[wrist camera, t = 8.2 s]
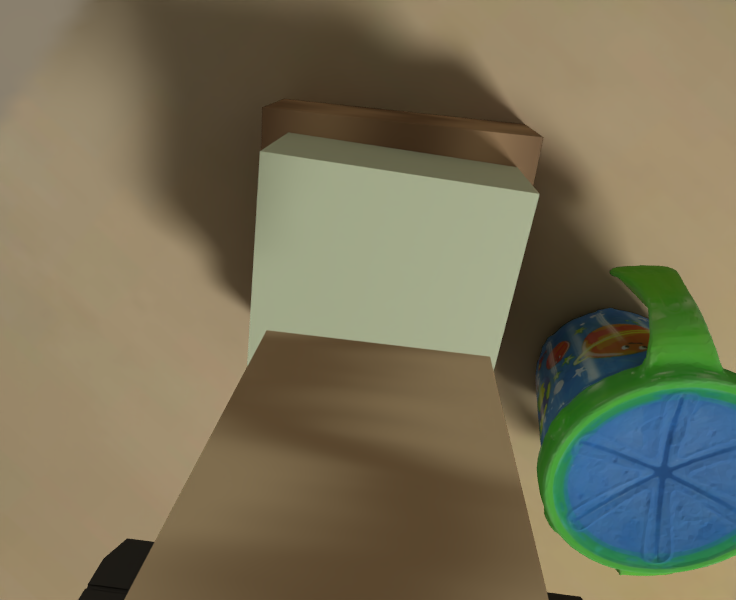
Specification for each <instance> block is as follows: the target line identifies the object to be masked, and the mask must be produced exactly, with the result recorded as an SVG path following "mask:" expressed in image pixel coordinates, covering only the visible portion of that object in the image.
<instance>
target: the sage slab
mask: <svg viewBox="0 0 736 600" xmlns="http://www.w3.org/2000/svg"><path fill="white" fill-rule="evenodd" d="M538 198H539V193H538V191H537V190H536V189H535V188H534V187H533V185H532V184H531V183H530V182H529V181H528V179H527V178H526V177H525V176H524V175H523V173H522V172H521V171H520V170H519V169H518V167H513V166H506V165H500V164H493V163H486V162H480V161H473V160H467V159H460V158H453V157H447V156H440V155H434V154H427V153H421V152H414V151H407V150H401V149H394V148H388V147H381V146H375V145H368V144H361V143H355V142H348V141H342V140H335V139H329V138H322V137H315V136H309V135H302V134H296V133H289V132H288V133H287V134H285V135H284V136H282V137H281V138H279V139H278V140H276V141H275V142H273V143H272V144H270V145H269V146H267V147H266V148H264V149H263V150H261V151H260V159H259V176H258V192H257V209H256V226H255V243H254V260H253V277H252V294H251V311H250V328H249V344H248V361H247V366H248V364H249V363H250V361H251V359H252V357H253V355H254V353H255V351H256V349H257V347H258V345H259V344H260V342H261V340H262V338H263V336H264V334H265V332H266V330H270V331H278V332H287V333H295V334H303V335H312V336H320V337H329V338H337V339H346V340H354V341H363V342H371V343H379V344H388V345H396V346H405V347H413V348H422V349H430V350H439V351H447V352H456V353H464V354H472V355H481V356H489V357H490V359H491V363H492V367H493V371H494V368H495V364H496V360H497V356H498V352H499V349H500V345H501V341H502V337H503V333H504V329H505V325H506V322H507V318H508V314H509V310H510V306H511V302H512V298H513V295H514V291H515V287H516V283H517V279H518V275H519V271H520V268H521V264H522V260H523V256H524V252H525V248H526V244H527V241H528V237H529V233H530V229H531V225H532V221H533V217H534V214H535V210H536V206H537V202H538Z"/></svg>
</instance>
